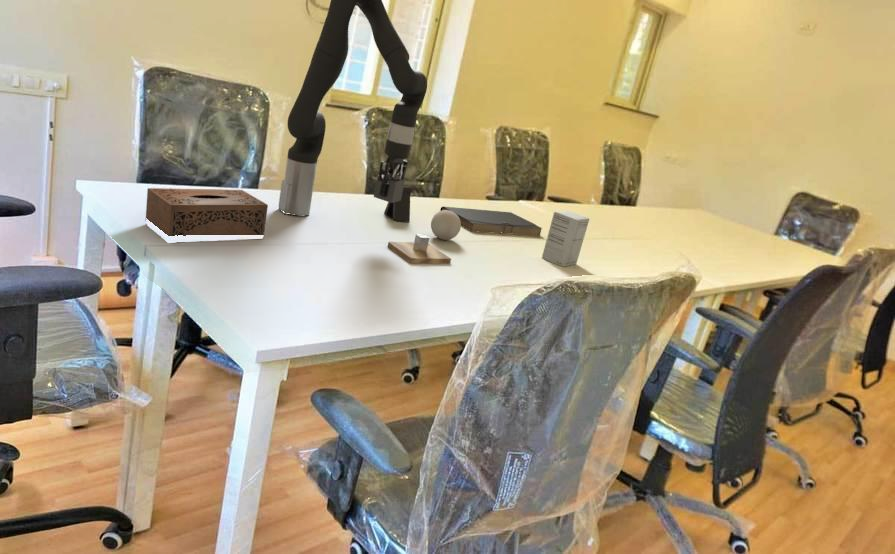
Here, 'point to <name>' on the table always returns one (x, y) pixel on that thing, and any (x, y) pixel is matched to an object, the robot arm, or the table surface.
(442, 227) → the eye model
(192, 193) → the tissue box cover
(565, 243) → the supplement box
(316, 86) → the robot arm
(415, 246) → the matte grey cube
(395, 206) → the phone stand
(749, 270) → the table surface
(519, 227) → the file folder
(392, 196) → the knob
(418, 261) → the base plate
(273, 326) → the table surface
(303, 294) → the table surface
